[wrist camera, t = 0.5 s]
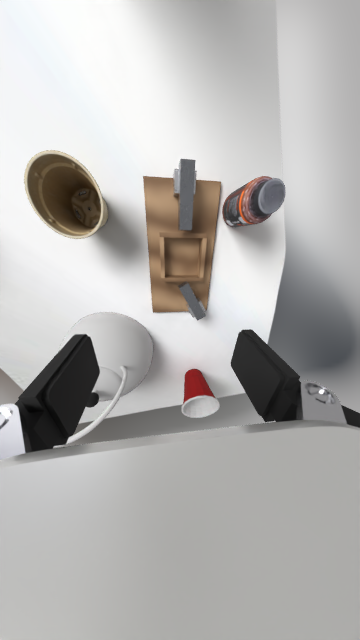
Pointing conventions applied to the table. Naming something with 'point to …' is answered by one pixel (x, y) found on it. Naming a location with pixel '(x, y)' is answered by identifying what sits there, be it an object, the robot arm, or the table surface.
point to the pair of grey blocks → (187, 222)
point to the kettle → (114, 358)
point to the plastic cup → (198, 396)
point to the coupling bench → (179, 242)
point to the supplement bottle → (254, 202)
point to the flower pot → (64, 194)
